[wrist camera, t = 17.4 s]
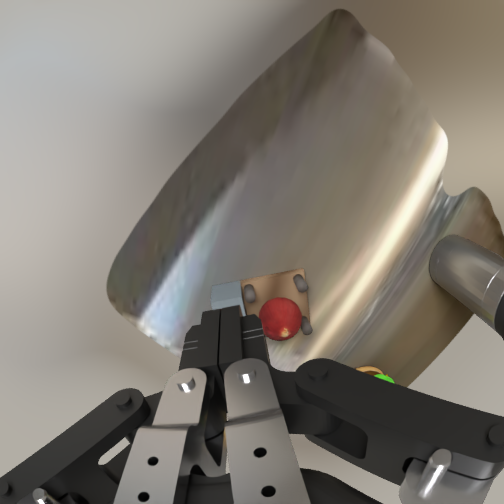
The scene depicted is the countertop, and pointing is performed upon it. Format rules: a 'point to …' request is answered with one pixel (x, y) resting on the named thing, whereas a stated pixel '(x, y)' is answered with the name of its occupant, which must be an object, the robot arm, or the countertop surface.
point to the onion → (280, 318)
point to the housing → (227, 296)
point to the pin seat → (277, 293)
